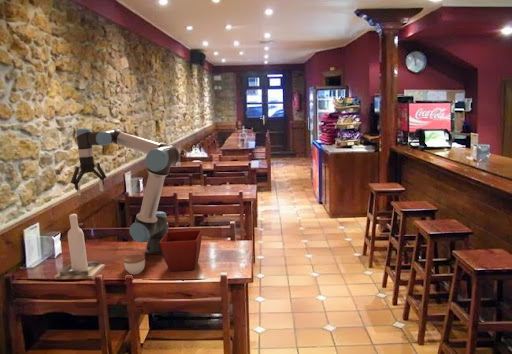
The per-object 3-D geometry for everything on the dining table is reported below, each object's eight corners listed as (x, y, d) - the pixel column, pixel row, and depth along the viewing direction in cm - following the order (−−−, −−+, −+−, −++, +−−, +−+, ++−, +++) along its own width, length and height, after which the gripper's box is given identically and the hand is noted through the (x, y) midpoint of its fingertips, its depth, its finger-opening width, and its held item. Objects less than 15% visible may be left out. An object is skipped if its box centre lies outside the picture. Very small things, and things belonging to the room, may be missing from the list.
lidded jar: (127, 269, 252) (125, 252, 250) (147, 267, 252) (145, 250, 251) (123, 277, 241) (121, 259, 239) (144, 275, 242) (142, 257, 240)
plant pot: (169, 261, 260) (166, 231, 257) (204, 259, 260) (202, 229, 257) (161, 274, 241) (158, 242, 239) (199, 272, 241) (196, 240, 238)
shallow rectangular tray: (104, 266, 257) (104, 260, 257) (92, 278, 241) (91, 271, 241) (69, 267, 259) (68, 261, 258) (54, 279, 243) (53, 272, 243)
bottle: (91, 267, 252) (84, 212, 247) (81, 273, 245) (74, 216, 240) (78, 266, 255) (71, 212, 250) (68, 272, 248) (61, 216, 242)
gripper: (103, 152, 279) (107, 188, 283) (61, 158, 262) (66, 196, 265) (109, 153, 274) (113, 189, 277) (67, 159, 256) (72, 198, 260)
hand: (90, 193), depth 271 cm, fingers open, 13 cm apart
